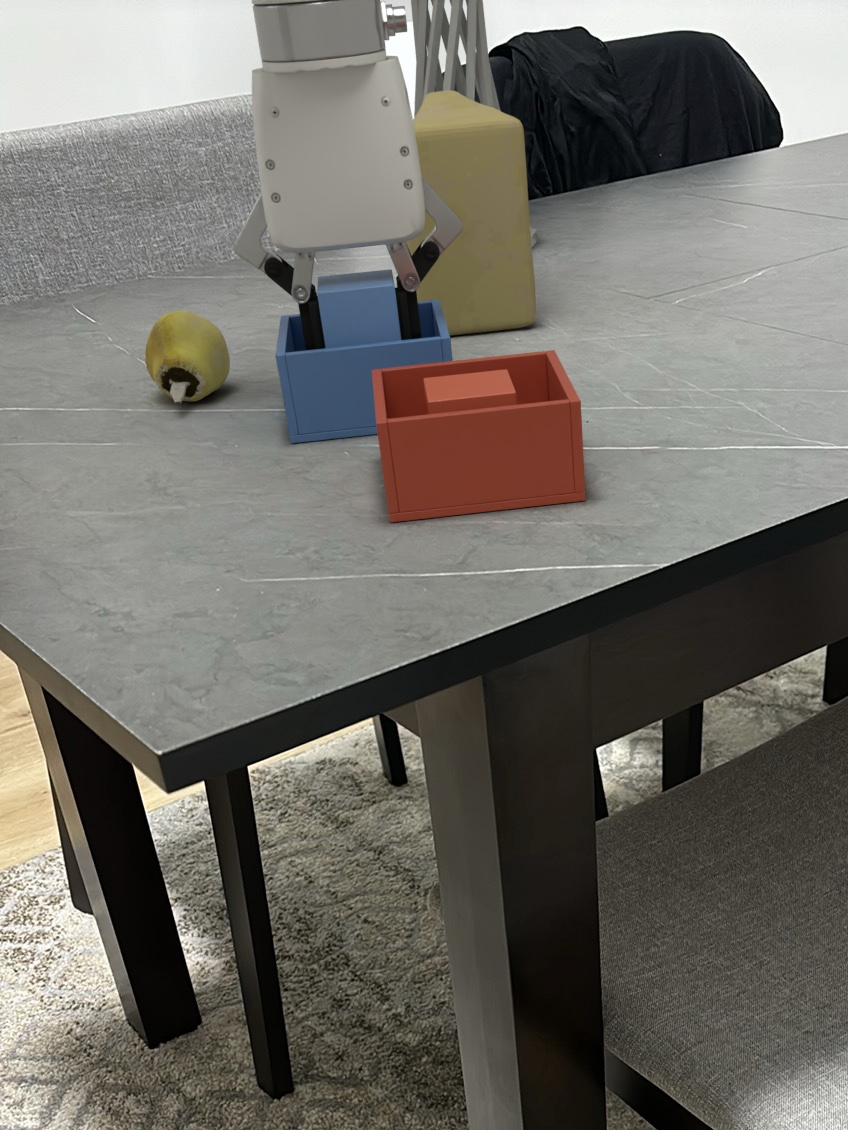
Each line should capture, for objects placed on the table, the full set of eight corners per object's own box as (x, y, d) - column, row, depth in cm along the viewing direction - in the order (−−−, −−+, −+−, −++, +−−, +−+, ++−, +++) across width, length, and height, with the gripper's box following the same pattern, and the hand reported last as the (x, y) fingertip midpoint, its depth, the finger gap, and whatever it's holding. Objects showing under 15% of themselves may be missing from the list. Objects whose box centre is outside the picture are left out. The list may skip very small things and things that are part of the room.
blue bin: (290, 443, 91) (275, 355, 88) (294, 397, 100) (280, 315, 97) (459, 425, 92) (450, 337, 89) (448, 380, 101) (439, 299, 98)
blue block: (329, 374, 92) (317, 292, 89) (329, 355, 96) (317, 276, 93) (404, 366, 92) (394, 284, 89) (401, 347, 96) (391, 268, 93)
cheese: (408, 283, 128) (385, 93, 119) (512, 272, 129) (497, 82, 120) (418, 341, 111) (392, 124, 102) (539, 328, 111) (523, 110, 102)
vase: (397, 266, 134) (340, -203, 113) (406, 239, 145) (355, -194, 124) (537, 255, 134) (506, -218, 113) (536, 229, 145) (507, -208, 123)
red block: (438, 490, 81) (427, 401, 78) (433, 463, 85) (423, 377, 81) (523, 481, 81) (516, 391, 78) (514, 454, 85) (507, 368, 82)
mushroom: (138, 423, 98) (146, 366, 105) (225, 438, 100) (227, 381, 106) (142, 341, 94) (150, 287, 101) (232, 358, 96) (234, 304, 103)
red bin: (389, 522, 78) (376, 423, 75) (384, 461, 87) (371, 369, 84) (586, 500, 79) (580, 400, 76) (560, 441, 88) (554, 349, 84)
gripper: (458, 19, 86) (485, 330, 97) (183, 45, 86) (242, 356, 97) (467, 27, 80) (495, 357, 92) (172, 55, 80) (237, 385, 91)
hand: (365, 354), depth 94 cm, fingers closed on blue block, 5 cm apart
